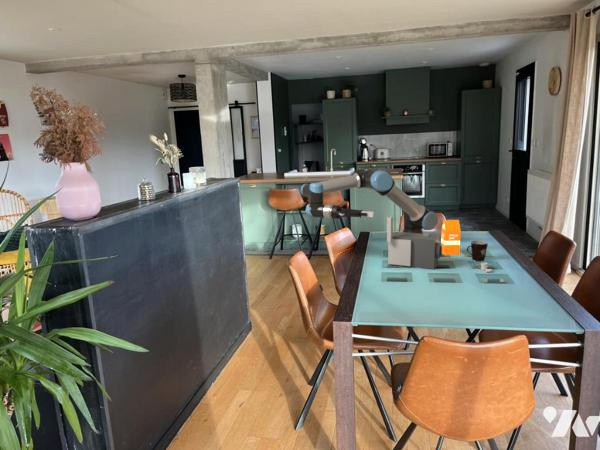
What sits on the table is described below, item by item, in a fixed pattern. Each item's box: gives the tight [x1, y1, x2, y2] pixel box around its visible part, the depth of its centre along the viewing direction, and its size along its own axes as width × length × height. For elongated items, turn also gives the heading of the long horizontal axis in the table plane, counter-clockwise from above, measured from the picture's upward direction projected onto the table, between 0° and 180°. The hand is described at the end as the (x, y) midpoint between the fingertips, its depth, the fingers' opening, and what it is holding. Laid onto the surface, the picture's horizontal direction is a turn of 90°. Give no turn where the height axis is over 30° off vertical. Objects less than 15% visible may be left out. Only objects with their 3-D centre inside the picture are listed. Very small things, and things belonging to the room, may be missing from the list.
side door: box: [386, 216, 411, 267], centre depth 240 cm, size 4×12×26 cm, turn 64°
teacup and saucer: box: [475, 261, 494, 273], centre depth 234 cm, size 9×8×4 cm
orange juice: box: [440, 219, 462, 256], centre depth 265 cm, size 8×9×20 cm
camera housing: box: [388, 231, 443, 271], centre depth 246 cm, size 12×26×17 cm, turn 64°
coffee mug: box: [466, 240, 489, 262], centre depth 251 cm, size 12×9×10 cm
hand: (373, 214), depth 243 cm, fingers closed
